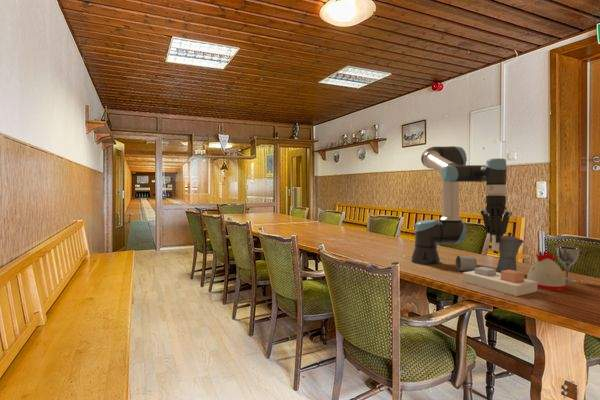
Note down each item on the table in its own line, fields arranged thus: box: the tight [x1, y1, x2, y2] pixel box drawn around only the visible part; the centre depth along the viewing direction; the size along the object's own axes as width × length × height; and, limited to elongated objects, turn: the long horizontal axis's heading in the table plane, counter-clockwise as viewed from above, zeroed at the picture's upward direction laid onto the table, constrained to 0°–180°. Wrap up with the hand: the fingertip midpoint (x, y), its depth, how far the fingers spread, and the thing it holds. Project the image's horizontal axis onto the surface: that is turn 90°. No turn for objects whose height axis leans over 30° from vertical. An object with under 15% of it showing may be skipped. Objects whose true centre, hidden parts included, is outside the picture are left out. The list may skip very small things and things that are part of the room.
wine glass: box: [556, 245, 580, 284], centre depth 160 cm, size 8×8×15 cm
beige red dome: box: [526, 250, 567, 291], centre depth 152 cm, size 14×14×15 cm
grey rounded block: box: [474, 266, 497, 276], centre depth 156 cm, size 6×6×4 cm
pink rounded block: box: [501, 269, 525, 283], centre depth 146 cm, size 6×6×4 cm
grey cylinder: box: [455, 255, 478, 272], centre depth 180 cm, size 11×8×8 cm
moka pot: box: [490, 232, 525, 273], centre depth 174 cm, size 10×15×20 cm, turn 41°
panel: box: [462, 270, 538, 297], centre depth 151 cm, size 24×14×4 cm, turn 28°
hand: (495, 250), depth 152 cm, fingers closed
